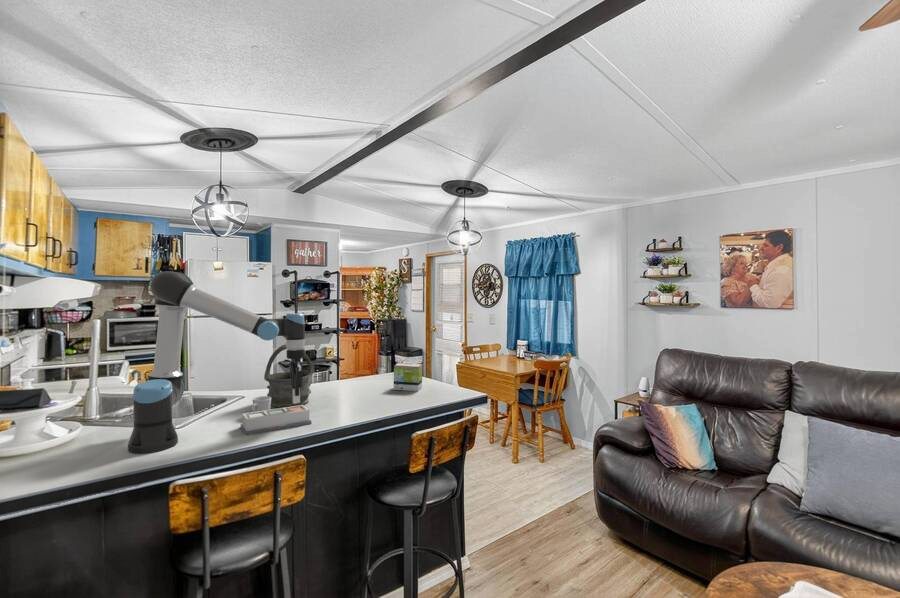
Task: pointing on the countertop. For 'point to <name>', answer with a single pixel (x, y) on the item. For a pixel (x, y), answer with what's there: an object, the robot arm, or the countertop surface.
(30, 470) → the countertop surface
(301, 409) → the key terracotta
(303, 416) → the grey compartment tray
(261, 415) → the key cream
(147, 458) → the countertop surface
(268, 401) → the cup
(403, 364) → the tea box
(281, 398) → the dark handled basket
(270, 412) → the key sage
